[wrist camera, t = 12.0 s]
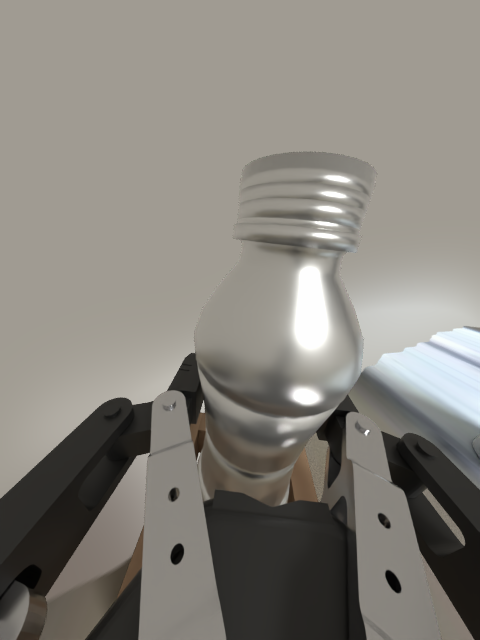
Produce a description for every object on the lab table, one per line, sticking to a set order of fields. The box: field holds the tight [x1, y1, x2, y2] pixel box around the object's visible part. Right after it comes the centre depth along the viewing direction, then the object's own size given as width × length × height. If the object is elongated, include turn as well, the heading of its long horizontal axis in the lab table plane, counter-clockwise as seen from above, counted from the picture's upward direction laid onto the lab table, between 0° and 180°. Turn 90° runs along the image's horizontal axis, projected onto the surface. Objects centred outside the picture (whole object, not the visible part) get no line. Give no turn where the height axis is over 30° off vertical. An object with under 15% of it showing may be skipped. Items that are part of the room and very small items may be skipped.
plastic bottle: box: [194, 152, 377, 507], centre depth 9 cm, size 6×7×20 cm
